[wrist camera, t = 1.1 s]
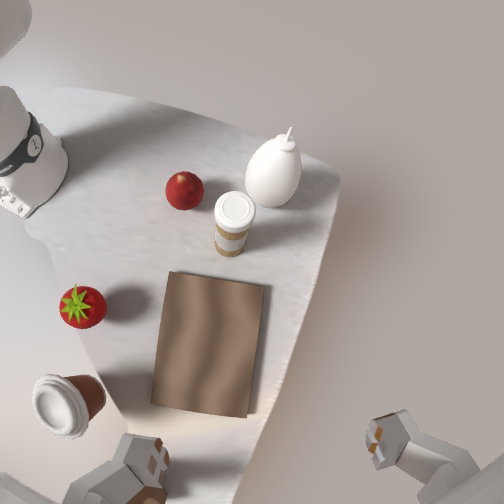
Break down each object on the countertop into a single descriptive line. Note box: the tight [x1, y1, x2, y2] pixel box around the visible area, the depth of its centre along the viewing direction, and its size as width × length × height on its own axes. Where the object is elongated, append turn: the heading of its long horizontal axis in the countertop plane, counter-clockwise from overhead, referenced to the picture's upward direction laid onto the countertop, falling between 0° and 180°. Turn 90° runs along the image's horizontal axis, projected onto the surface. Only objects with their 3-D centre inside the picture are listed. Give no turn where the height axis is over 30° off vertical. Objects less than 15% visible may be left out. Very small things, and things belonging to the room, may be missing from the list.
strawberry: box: [59, 285, 107, 329], centre depth 32 cm, size 6×8×10 cm
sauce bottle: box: [245, 127, 301, 208], centre depth 37 cm, size 8×8×18 cm
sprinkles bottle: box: [215, 191, 256, 257], centre depth 36 cm, size 5×5×13 cm
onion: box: [166, 172, 204, 210], centre depth 39 cm, size 6×6×8 cm
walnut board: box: [151, 271, 264, 418], centre depth 37 cm, size 14×20×2 cm
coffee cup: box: [32, 374, 106, 439], centre depth 27 cm, size 9×9×12 cm
